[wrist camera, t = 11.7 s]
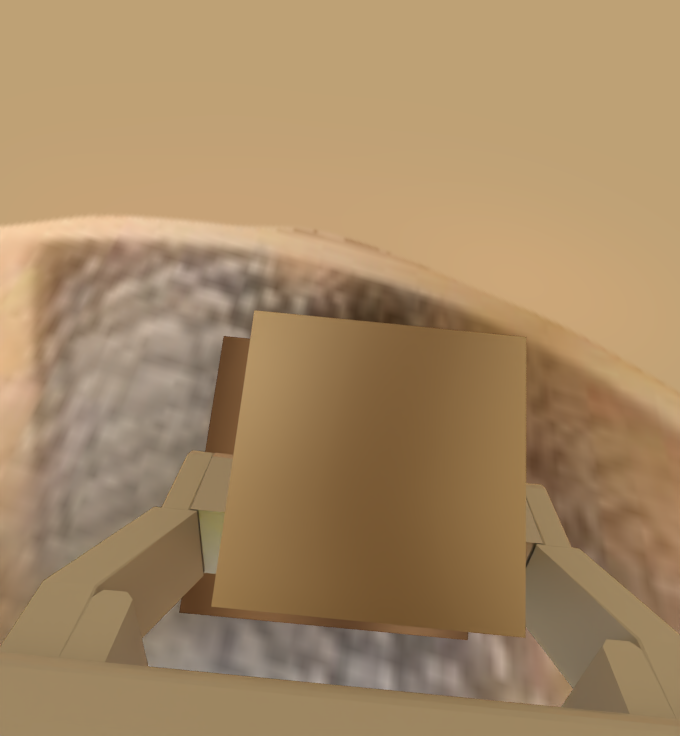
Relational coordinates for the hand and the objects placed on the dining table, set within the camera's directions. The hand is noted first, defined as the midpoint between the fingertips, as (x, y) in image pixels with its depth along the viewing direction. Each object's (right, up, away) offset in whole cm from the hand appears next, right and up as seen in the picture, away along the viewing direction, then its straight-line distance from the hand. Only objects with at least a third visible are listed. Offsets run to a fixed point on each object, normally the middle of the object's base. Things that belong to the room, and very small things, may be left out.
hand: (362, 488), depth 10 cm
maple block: (0, -1, +5) cm, 5 cm away
